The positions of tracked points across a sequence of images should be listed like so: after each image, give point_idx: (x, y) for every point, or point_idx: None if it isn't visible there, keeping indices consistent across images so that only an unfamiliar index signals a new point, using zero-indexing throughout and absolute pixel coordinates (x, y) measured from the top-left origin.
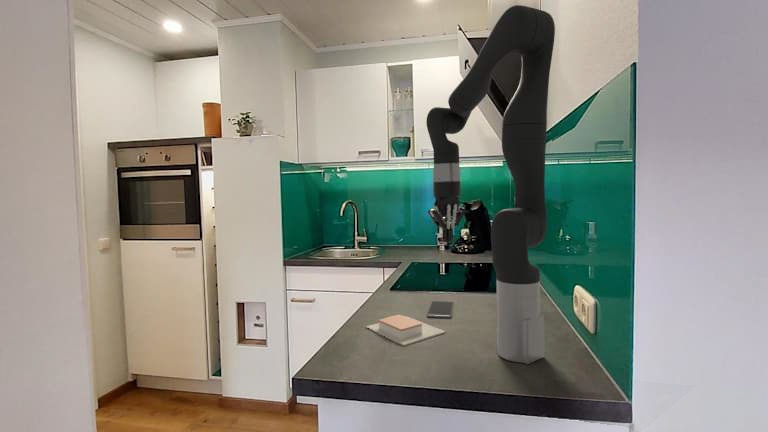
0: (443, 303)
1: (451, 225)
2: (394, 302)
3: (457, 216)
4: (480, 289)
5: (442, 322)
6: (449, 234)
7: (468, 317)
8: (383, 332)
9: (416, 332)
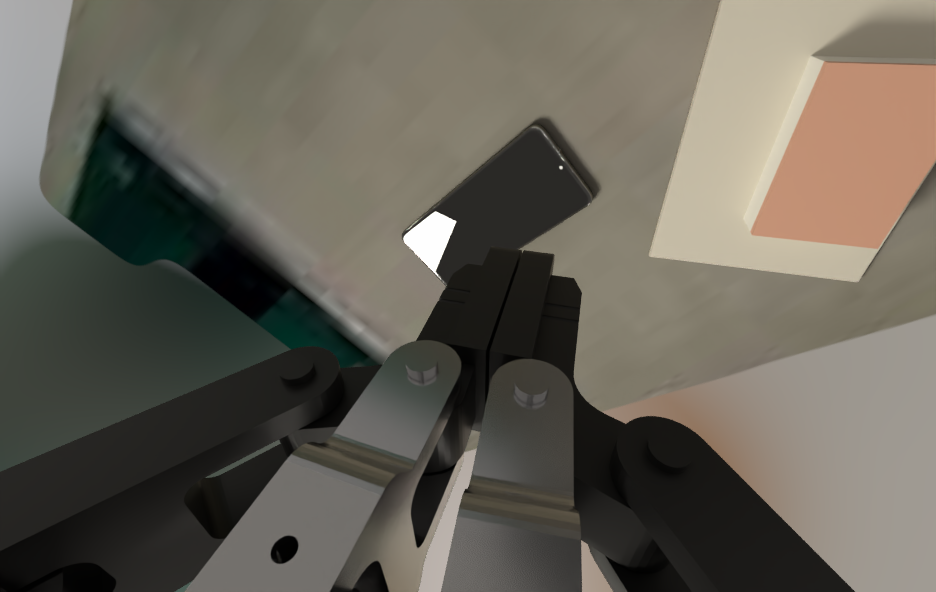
0: (440, 248)
1: (450, 389)
2: None
3: (168, 510)
4: (236, 261)
5: (605, 108)
6: (528, 302)
7: (477, 75)
8: None
9: (856, 57)
